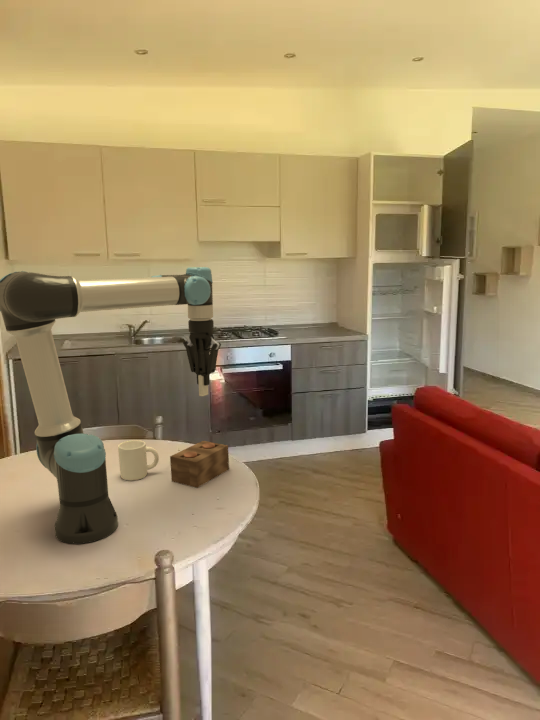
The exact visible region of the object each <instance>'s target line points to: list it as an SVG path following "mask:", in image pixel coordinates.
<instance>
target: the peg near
mask: <svg viewBox="0 0 540 720" xmlns="http://www.w3.org/2000/svg"><path fill="white" fill-rule="evenodd" d="M195 457H197V453H196V452H186V453H184V458H188V459H193V458H195Z"/></svg>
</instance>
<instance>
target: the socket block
mask: <svg viewBox="0 0 540 720" xmlns="http://www.w3.org/2000/svg"><path fill="white" fill-rule="evenodd" d="M205 443H214V444H215V448H213V449H211V450H208V449H204V448H202V445H203V444H205ZM186 452H196V453H197V457H195V458H193V459H188V458H184V453H186ZM229 459H230V458H229V445H227V444H223V443H217V442H212V441H208V440H201V441H200V442H197V443H195V444H193V445H191V446H189V447H187V448H185V449H183V450H180V451H179V452H176V453H174V454H172V455H170V456H169V460H170V461H169V463H170V479H171V482H173V483H175V484H181V485H185V486H189V487H192V488H196V489H198V488H200V487H201V486H203V485H205V484H207V483H209V482H210V481H211V480H213V479H215V478H217V477H218V476H221V475H222V474H224V473H226V472H227V471H229V470H230V463H229V462H230V461H229Z"/></svg>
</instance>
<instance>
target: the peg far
mask: <svg viewBox="0 0 540 720" xmlns="http://www.w3.org/2000/svg"><path fill="white" fill-rule="evenodd" d="M214 443H215V442H213V443H205V444H203V445H202V448H204V449H208V450H211V449H213V448H215V444H214Z"/></svg>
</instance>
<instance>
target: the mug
mask: <svg viewBox="0 0 540 720" xmlns="http://www.w3.org/2000/svg"><path fill="white" fill-rule="evenodd" d="M146 444H147V443H146V442H145V441H144V440H140V439H138V440H137V439H136V440H135V439H133V440H131V439H130V440H126V441H123V442H121V443H118V445H117V448H118V451H117V452H118V460H119V461H118V462H119V472H120V474H119V475H120V477H121V479H123V480H125V481H128V482H129V481H138V480H142V479H143V478H145V477H146V476H147V475H148V471H149V470H153V469H155V467H156V466H157V465H158V464H159V459H160V457H159V453H158V451H157V449H155V448H154V447H151V446H147V445H146ZM149 452H150V453H152V454H153V457H154V458H153V459H154V460H153V462H152V463H151V464H148V459H147V453H149Z"/></svg>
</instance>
